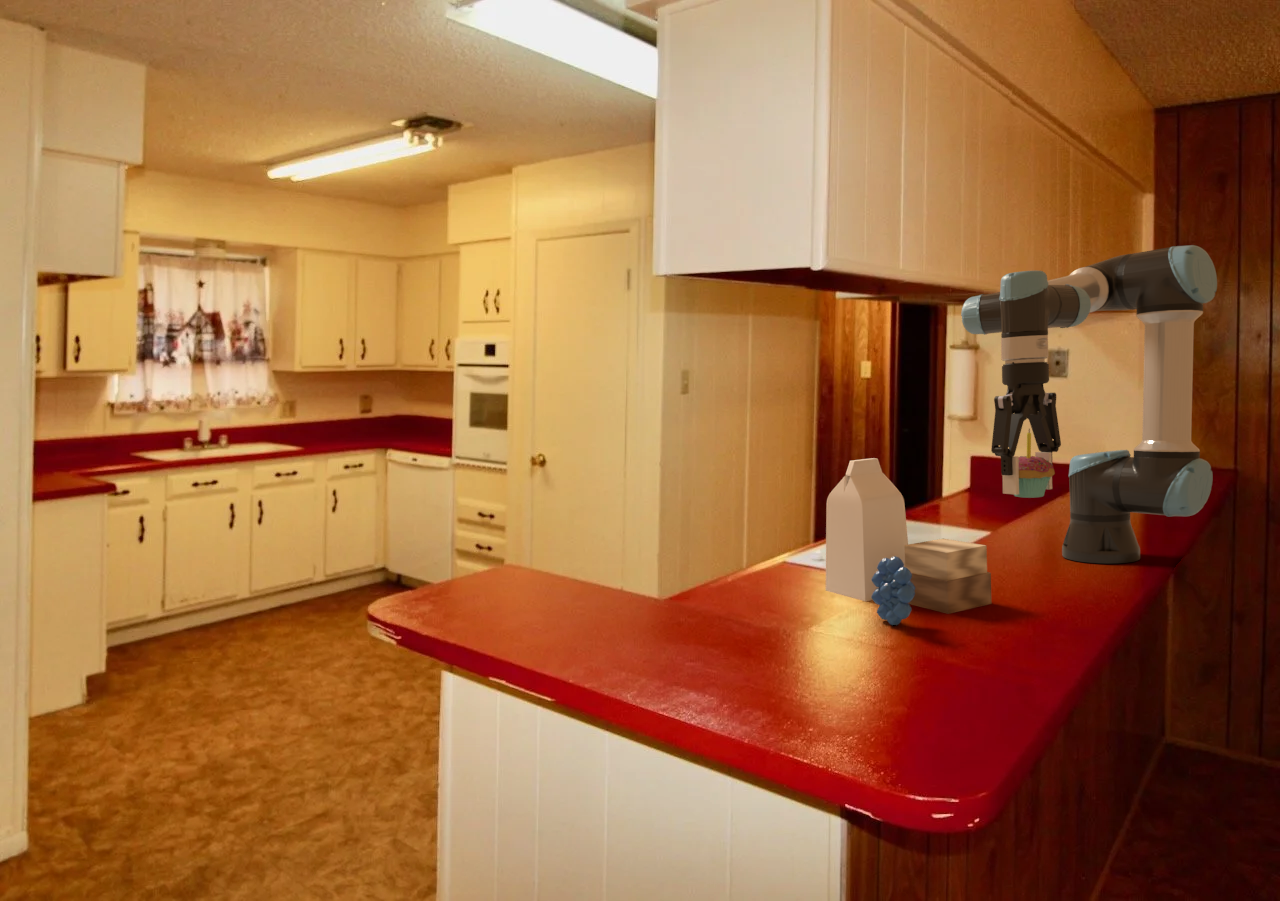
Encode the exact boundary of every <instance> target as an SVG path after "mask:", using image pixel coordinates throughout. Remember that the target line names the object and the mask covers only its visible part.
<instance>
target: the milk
mask: <svg viewBox="0 0 1280 901" xmlns="http://www.w3.org/2000/svg"><path fill="white" fill-rule="evenodd" d="M905 505H906V504H905V498H904V496H903V495H902V493H901V491H900V490H899V489H898V488H897V487H896V486H895V484H894V483H893V482H892V481H891V480H890V479H889V477H887V476H886V474H885V473H884V472H883V470H882V467H881V465H880V461H879V459H878V458H875V457H873V458H872V457H871V458H862V459H855V460H849V463H848V466H847V469H846V472H845V475H844V476H843V477H842V479H840V481H839V482H838V483H837V484H836V485H835V487H834V488H833V489H832V490H831V492H829V494H828V496H827V498H826V509H825V510H826V511H825V512H826V513H825V514H826V517H825V518H826V522H825V524H826V525H825V526H826V527H825V533H826V534H825V591H826V592H829V593H834V594H837V595H841V596H844V597H848V598H851V599H855V600H859V601H861V602H869V601H873V599H872V598H871V597H872V594H873V592H874V591H875V590H876V589H877V588H879V587H876V586H875V585H874V584H873V582H872V577H873V575H874V574H875V573H876V572H877V571H879V570H878V569H877V567H878V564H879V562H880V561H881V560H882V559H884V558H889V559H890V558H891V557H894V556H896V557H899V558H900V559H901V560H902V561H903V563H904V566H903V567H905V545H908V544H909V538H908V526H907V518H906V517H907V515H906V507H905Z"/></svg>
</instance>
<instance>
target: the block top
mask: <svg viewBox="0 0 1280 901" xmlns="http://www.w3.org/2000/svg"><path fill="white" fill-rule="evenodd" d="M987 551H988V550H987V545H985V544H980V543H975V542H974V543H973V542H969V541H962V540H961V541H960V540H955V539H949V538H939V539H933V540H928V541H919V542H914V543H908V545H905V567H906V568H908V569H909V570H910V572H911V573H913V574H917V575H922V576H927V577H931V578H936V579H941V580H945V581H950V580H954V579H959V578H964V577H969V576H974V575H979V574H984V573H987V572H988V558H987V557H988V556H987V555H988V554H987V553H988V552H987Z"/></svg>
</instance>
